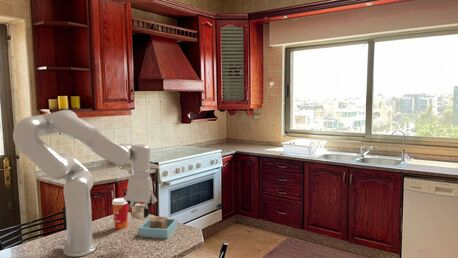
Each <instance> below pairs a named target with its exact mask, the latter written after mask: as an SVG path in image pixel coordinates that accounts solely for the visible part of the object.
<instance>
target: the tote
mask: <svg viewBox="0 0 458 258" xmlns="http://www.w3.org/2000/svg"><path fill="white" fill-rule="evenodd" d="M153 218H154V217H149V218H148V219H147V220H146V221H145V222H143V223H142V224H141V225H140V226H138V237H142V238H153V239H154V238H156V239H169V238H170V236H171V235H172V234H173V233H174V232H175V231H176V229H177V228H178V219H177V218H168V217H167V229H157V228H150V220H151V219H153Z"/></svg>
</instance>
